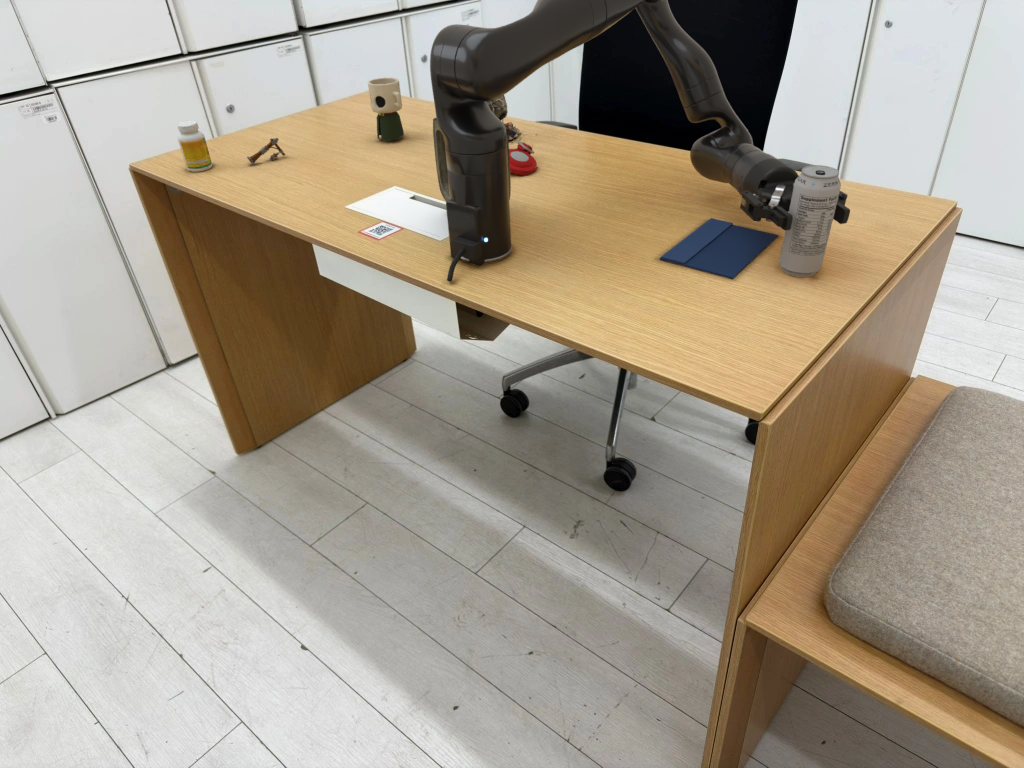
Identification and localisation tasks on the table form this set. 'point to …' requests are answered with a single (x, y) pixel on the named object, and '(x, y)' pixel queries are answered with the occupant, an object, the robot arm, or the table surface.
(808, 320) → the table surface
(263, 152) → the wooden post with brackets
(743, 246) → the open blue folder
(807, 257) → the energy drink can
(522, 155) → the tracker holder
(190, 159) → the supplement bottle
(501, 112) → the plant with pod
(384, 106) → the character mug
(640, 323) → the table surface
